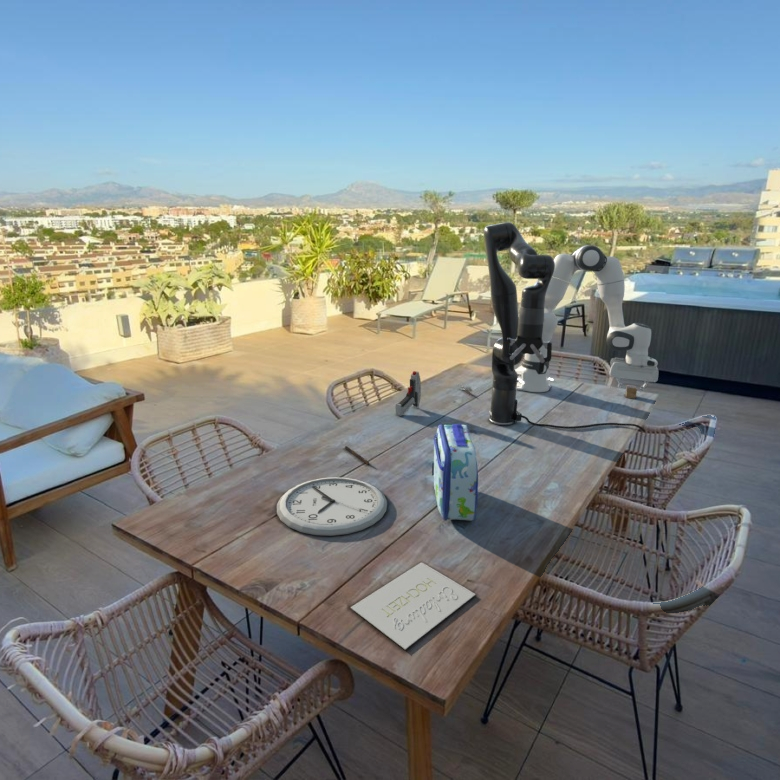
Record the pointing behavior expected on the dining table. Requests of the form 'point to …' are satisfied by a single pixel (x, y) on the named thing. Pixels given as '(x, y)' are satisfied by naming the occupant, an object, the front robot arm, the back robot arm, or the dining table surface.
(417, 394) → the toy gun
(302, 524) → the wall clock
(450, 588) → the invitation card
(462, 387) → the fork
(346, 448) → the dark brown stick
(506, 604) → the dining table surface
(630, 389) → the block
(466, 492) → the lunch box
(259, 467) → the dining table surface
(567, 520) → the dining table surface
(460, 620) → the dining table surface
